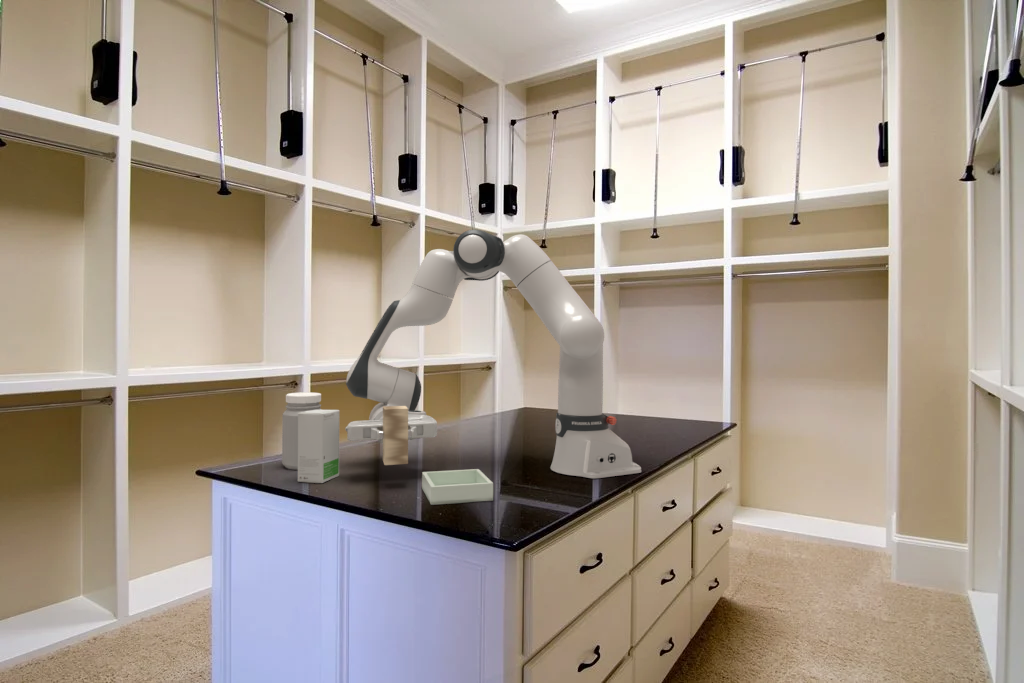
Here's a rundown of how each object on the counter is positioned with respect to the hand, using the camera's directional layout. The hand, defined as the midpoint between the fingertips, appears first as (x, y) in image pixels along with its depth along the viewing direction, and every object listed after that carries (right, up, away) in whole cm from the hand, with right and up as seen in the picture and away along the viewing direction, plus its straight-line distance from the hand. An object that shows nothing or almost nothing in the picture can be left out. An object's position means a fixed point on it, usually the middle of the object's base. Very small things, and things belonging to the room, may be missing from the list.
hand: (395, 435), depth 127 cm
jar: (-27, -11, +18) cm, 34 cm away
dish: (+14, -12, -5) cm, 19 cm away
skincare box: (-19, -11, +6) cm, 23 cm away
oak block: (0, -6, +1) cm, 6 cm away
